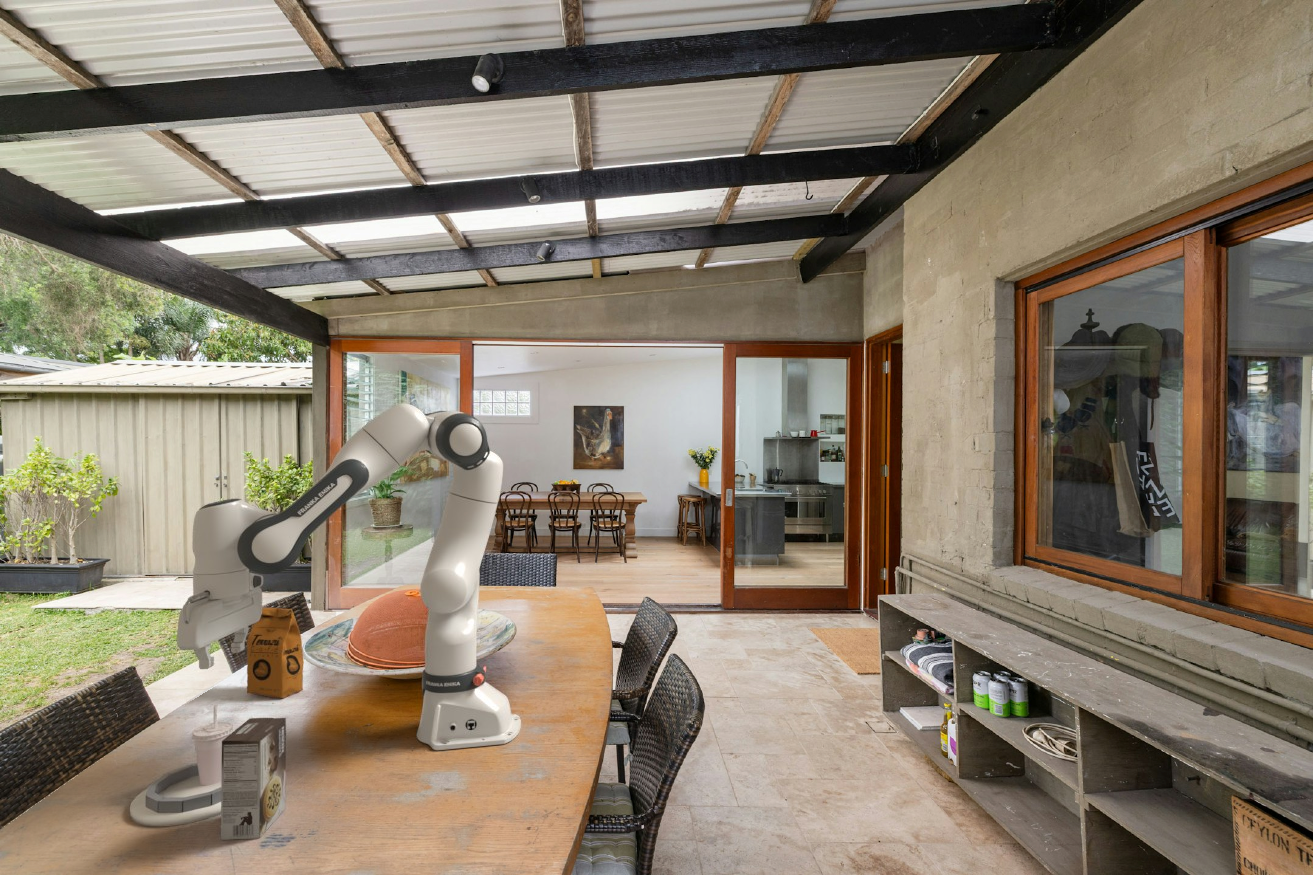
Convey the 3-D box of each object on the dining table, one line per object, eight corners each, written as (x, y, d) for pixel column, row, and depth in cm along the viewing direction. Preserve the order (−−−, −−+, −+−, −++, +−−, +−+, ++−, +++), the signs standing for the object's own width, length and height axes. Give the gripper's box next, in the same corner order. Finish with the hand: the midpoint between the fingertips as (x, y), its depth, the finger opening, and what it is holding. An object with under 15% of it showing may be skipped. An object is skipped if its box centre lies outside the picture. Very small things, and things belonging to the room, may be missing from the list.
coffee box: (248, 810, 115) (249, 717, 115) (287, 808, 116) (288, 715, 116) (218, 841, 106) (219, 740, 106) (260, 839, 107) (261, 738, 107)
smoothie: (210, 791, 120) (211, 713, 120) (182, 786, 121) (183, 710, 121) (240, 774, 126) (241, 700, 126) (213, 770, 127) (214, 697, 127)
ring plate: (285, 767, 130) (285, 752, 130) (221, 825, 110) (221, 807, 110) (182, 769, 130) (182, 753, 130) (99, 827, 110) (99, 809, 110)
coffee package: (278, 702, 164) (279, 613, 164) (240, 697, 168) (241, 610, 168) (310, 688, 174) (311, 605, 174) (273, 683, 177) (274, 601, 178)
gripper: (202, 597, 114) (204, 678, 114) (268, 574, 134) (269, 642, 134) (165, 599, 114) (166, 679, 113) (236, 575, 134) (237, 643, 134)
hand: (222, 659), depth 124 cm, fingers open, 8 cm apart
